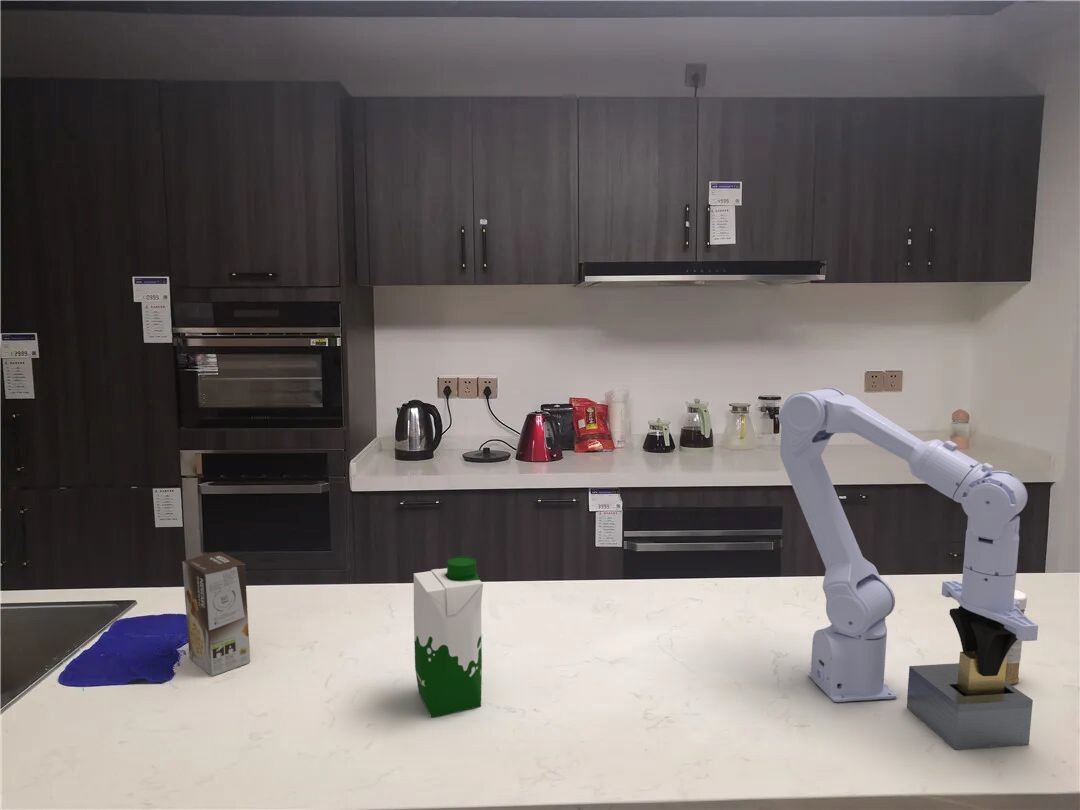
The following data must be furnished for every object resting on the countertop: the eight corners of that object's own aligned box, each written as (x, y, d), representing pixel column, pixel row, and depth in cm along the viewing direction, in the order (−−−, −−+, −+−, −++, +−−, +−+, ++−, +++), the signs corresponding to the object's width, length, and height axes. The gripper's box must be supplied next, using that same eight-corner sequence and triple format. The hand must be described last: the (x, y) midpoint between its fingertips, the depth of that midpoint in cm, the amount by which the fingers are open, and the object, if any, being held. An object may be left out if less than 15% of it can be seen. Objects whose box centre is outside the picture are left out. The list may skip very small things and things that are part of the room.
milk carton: (489, 708, 101) (488, 568, 98) (425, 723, 97) (422, 578, 95) (470, 679, 109) (468, 549, 106) (410, 691, 105) (406, 557, 103)
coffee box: (252, 662, 114) (247, 563, 112) (211, 677, 109) (205, 574, 107) (226, 644, 120) (221, 550, 118) (186, 657, 115) (180, 560, 113)
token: (967, 696, 93) (970, 658, 93) (957, 688, 95) (960, 651, 95) (1003, 694, 94) (1007, 657, 93) (992, 686, 96) (995, 650, 95)
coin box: (955, 749, 91) (958, 704, 90) (906, 707, 101) (909, 666, 100) (1028, 744, 92) (1032, 699, 91) (973, 702, 102) (976, 662, 101)
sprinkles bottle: (976, 671, 111) (983, 586, 109) (1004, 670, 111) (1011, 585, 110) (998, 686, 106) (1005, 598, 105) (1027, 685, 107) (1034, 597, 105)
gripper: (1065, 588, 86) (1055, 697, 87) (978, 548, 100) (971, 643, 102) (1010, 590, 85) (1000, 700, 87) (930, 550, 99) (923, 645, 101)
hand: (981, 669), depth 94 cm, fingers closed on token, 2 cm apart
